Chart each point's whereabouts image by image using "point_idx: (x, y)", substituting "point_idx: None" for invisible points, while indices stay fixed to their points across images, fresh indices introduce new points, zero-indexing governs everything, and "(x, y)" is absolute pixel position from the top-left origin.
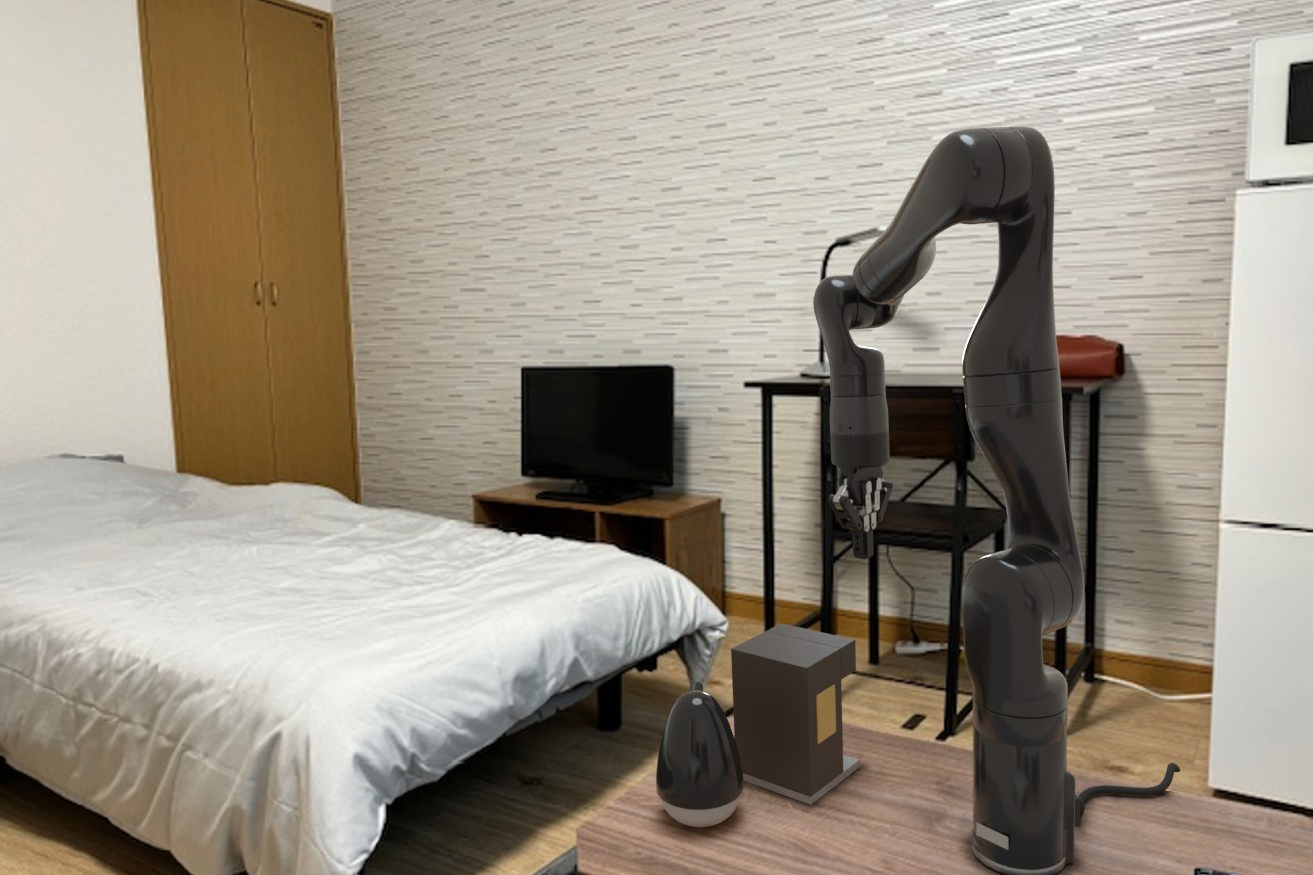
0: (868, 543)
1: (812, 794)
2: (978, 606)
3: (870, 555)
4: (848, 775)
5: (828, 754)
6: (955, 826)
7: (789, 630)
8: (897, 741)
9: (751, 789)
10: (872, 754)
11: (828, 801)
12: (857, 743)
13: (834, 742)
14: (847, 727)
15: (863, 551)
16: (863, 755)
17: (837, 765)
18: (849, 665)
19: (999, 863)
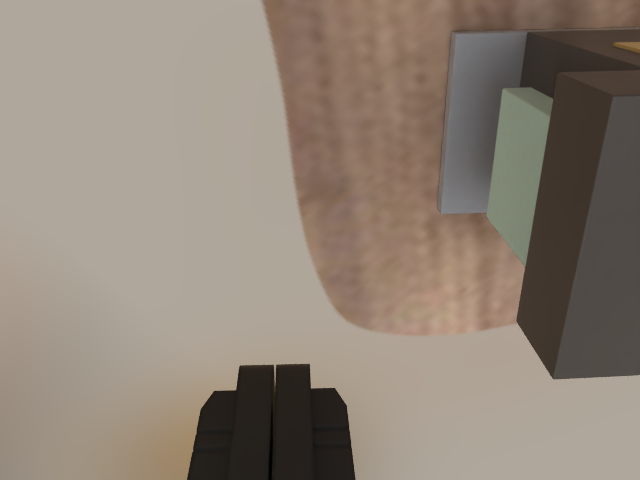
0: (299, 432)
1: None
2: None
3: (279, 367)
4: (500, 30)
5: (621, 38)
6: None
7: (609, 326)
8: (293, 26)
9: None
10: (383, 40)
11: (618, 5)
12: (355, 95)
13: (603, 41)
14: (300, 154)
15: (333, 407)
16: (398, 54)
17: (561, 34)
18: (616, 76)
19: None
